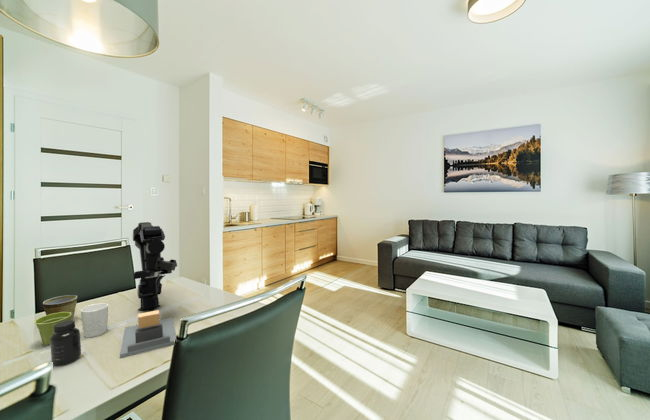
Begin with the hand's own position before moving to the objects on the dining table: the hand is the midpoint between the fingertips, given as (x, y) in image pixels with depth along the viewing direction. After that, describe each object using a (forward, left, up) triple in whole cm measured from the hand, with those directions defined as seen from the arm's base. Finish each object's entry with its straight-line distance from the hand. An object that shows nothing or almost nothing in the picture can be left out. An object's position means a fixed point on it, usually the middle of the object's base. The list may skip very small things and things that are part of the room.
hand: (155, 294), depth 111 cm
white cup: (-16, -11, -12) cm, 23 cm away
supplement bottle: (-9, -27, -12) cm, 31 cm away
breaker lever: (+9, -14, -6) cm, 18 cm away
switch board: (+6, -11, -12) cm, 17 cm away
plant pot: (-25, -18, -12) cm, 33 cm away
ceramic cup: (-38, -6, -12) cm, 40 cm away
